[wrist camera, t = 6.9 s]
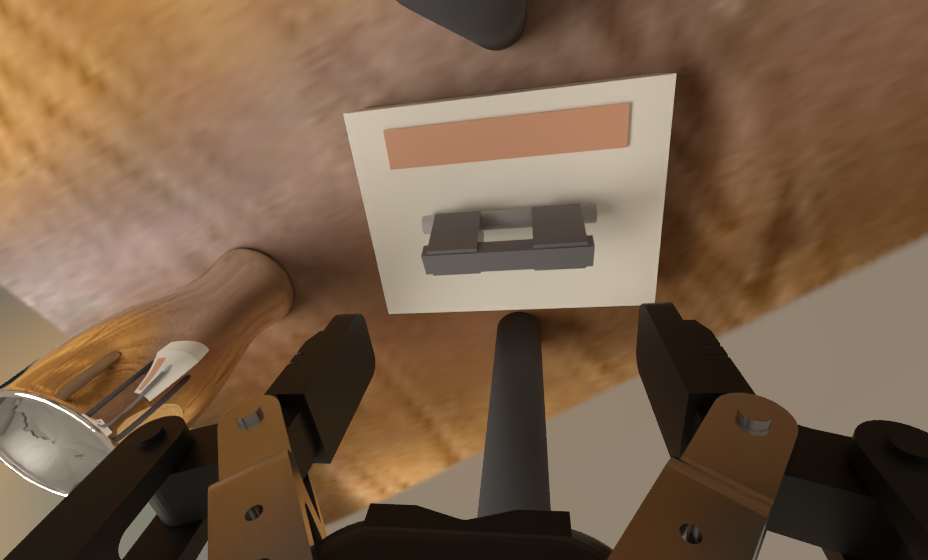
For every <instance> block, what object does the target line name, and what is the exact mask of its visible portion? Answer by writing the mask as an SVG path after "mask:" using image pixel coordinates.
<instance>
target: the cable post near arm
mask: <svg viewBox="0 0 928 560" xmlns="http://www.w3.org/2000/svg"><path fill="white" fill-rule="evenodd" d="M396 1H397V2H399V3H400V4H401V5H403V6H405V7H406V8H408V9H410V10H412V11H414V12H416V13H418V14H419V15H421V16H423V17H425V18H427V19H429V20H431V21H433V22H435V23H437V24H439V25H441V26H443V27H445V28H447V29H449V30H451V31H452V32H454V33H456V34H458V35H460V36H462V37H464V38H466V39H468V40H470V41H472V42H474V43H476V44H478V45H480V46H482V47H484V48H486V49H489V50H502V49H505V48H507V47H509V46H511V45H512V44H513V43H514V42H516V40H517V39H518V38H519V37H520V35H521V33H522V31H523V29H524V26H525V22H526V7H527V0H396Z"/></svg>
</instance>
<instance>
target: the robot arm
mask: <svg viewBox="0 0 928 560" xmlns="http://www.w3.org/2000/svg"><path fill="white" fill-rule="evenodd" d="M636 357H637V366H638V371H639V374H640V377H641V379H642V382H643V384H644V387H645V390H646V393H647V395H648V398H649V400H650V403H651V406H652V409H653V412H654V414H655V417H656V420H657V422H658V425H659V428H660V430H661V433H662V435H663V438H664V441H665V444H666V446H667V449H668V452H669V455H670V457H671V459H670V460H669V461H668V462H667V464H666V465H665V467H664V468H663V470H662V472H661V474H660V475H659V477H658V478H657V480H656V482H655V483H654V485H653V486H652V488H651V489H650V491H649V493H648V495H647V496H646V498H645V499H644V501H643V502H642V504H641V506H640V507H639V509H638V510H637V512H636V514H635V515H634V517H633V519H632V520H631V522H630V523H629V525H628V527H627V528H626V530H625V532H624V533H623V535H622V537H621V538H620V540H619V541H618V543H617V545H616V546H615V548H614V549H611V548H610V547H609V546H607V545H605V544H604V543H601V542H600V541H598V540H596V539H595V538H593V537H591V536H588V535H586V534H584V533H582V532H578V531H575V530H572V529H571V522H570V513H569V512H564V511H541V510H513V511H508V512H503V513H498V514H494V515H489V516H484V517H479V518H475V519H469V520H461V519H458V518H454V517H451V516H448V515H445V514H442V513H439V512H435V511H432V510H429V509H426V508H423V507H420V506H417V505H395V504H372V503H371V504H370V506H369V509H368V512H367V515H366V518H365V520H364V521H361V522H357V523H355V524H351V525H348V526H346V527H344V528H342V529H340V530H338V531H336V532H334V533H332V534H330V535H329V536H327V533H326V530H325V526H324V523H323V519H322V516H321V512H320V509H319V505H318V501H317V498H316V494H315V491H314V487H313V484H312V480H311V477H310V475H309V473H308V471H309V470H310V468H311V466H312V464H313V463H328V464H330V463H331V461H332V459H333V457H334V455H335V453H336V451H337V449H338V447H339V445H340V443H341V441H342V439H343V436H344V434H345V432H346V430H347V428H348V426H349V424H350V422H351V420H352V418H353V416H354V414H355V412H356V410H357V408H358V406H359V404H360V401H361V399H362V397H363V395H364V393H365V391H366V389H367V387H368V385H369V383H370V381H371V379H372V377H373V374H374V370H375V355H374V351H373V348H372V344H371V340H370V336H369V333H368V329H367V325H366V321H365V319H364V317H363V315H361V314H343V315H336V316H334V318H333V319H332V320H331V322H330V323H329V324H328V326H327V327H326V328H325V330H324V331H320V332H318V333H317V334H316V335H314V336H313V337H311V338H310V339H309V340H307V341H306V342H305V343H304V345H303V346H302V347H301V348H300V350H299V351H298V352H297V355H295V356H294V357H293V358H292V360H291V361H290V364H289V365H287V366H286V367H285V369H284V370H283V371H282V372H281V374H280V375H279V376H278V378H277V379H276V380H275V381H274V383H273V384H272V385H271V386H270V388H269V389H268V390H267V391H266V393H265V394H264V395H259V396H254V397H251V398H248V399H246V400H243V401H241V402H239V403H238V404H236V405H235V406H233V407H232V408H230V409H229V410H228V411H227V412H226V413H225V414H224V415H223V416H222V417H221V419H220V421H219V423H218V424H214V425H210V426H206V427H201V428H197V429H193V430H189V428H188V426H187V424H186V423H185V421H184V419H183V418H182V417H180V416H165V417H161V418H158V419H155V420H152V421H150V422H148V423H146V424H144V425H142V426H140V427H139V428H137V429H136V430H134V431H133V432H131V433H130V434H129V435H128V436H127V437H126V438H124V439H123V440H122V441H121V442H120V443H119V444H118V445H117V446H116V447H115V448H114V449H113V450H112V451H111V452H110V453H109V454H108V455H107V456H106V457H105V458H104V459H103V460H102V461H101V462H100V463H99V464H98V465H97V466H96V467H95V468H94V469H93V470H92V471H91V472H90V473H89V474H88V475H87V476H86V477H85V478H84V479H83V480H82V481H81V482H80V483H79V484H78V485H77V486H76V487H75V488H74V489H73V490H72V491H71V492H70V493H69V494H68V495H67V496H66V497H65V498H64V499H63V500H62V501H61V502H60V503H59V505H57V506H56V507H55V508H54V509H53V510H52V511H51V512H50V513H49V514H48V515H47V516H46V517H45V518H44V519H43V520H42V521H41V522H40V523H39V524H38V525H37V526H36V527H35V528H34V529H33V530H32V531H31V532H30V533H29V534H28V535H27V536H26V537H25V538H24V539H23V540H22V541H21V542H20V543H19V544H18V545H17V546H16V547H15V548H14V549H13V550H12V551H11V552H10V553H9V554H8V555H7V556H6V557H5V558H4V559H3V560H121V559H120V557H119V553H118V547H119V543H120V540H121V537H122V535H123V533H124V532H125V530H126V529H127V528H128V527H129V525H130V524H131V523H132V522H133V520H134V519H135V518H136V517H137V515H138V514H139V513H140V512H141V510H142V509H143V508H144V507H145V505H146V504H147V503H148V502H149V504H150V505H151V506H152V508H153V509H154V511H155V512H156V514H157V515H156V516H155V517H154V519H153V520H152V521H151V523H150V524H149V525H148V527H147V528H146V529H145V531H144V532H143V533H142V534H141V536H140V537H139V538H138V540H137V541H136V542H135V544H134V545H133V546H132V548H131V549H130V550H129V552H128V553H127V554H126V556H125V557H124V558H123V559H122V560H196V559H197V557H198V555H199V554H200V552H201V550H202V549H203V547H204V545H205V544H206V542H207V540H208V560H757V558H758V555H759V552H760V550H761V547H762V544H763V541H764V538H765V535H766V532H767V530H768V531H771V532H774V533H778V534H781V535H784V536H787V537H790V538H793V539H797V540H800V541H803V542H806V543H810V544H812V545H816V546H819V547H821V548H822V550H823V551H824V553H825V555H826V557H827V559H828V560H928V433H927V432H925V431H922V430H920V429H918V428H915V427H912V426H909V425H906V424H902V423H898V422H892V421H885V420H872V421H866V422H863V423H861V424H860V425H858V426H857V428H856V429H855V431H854V434H853V436H852V437H848V436H843V435H838V434H834V433H829V432H824V431H820V430H815V429H810V428H807V427H803V426H800V425H797V423H796V421H795V419H794V418H793V416H792V415H791V414H790V413H789V412H788V411H787V410H785V409H784V408H783V407H781V406H780V405H778V404H777V403H775V402H773V401H771V400H769V399H766V398H764V397H761V396H758V395H756V394H755V393H754V392H753V390H752V389H751V387H750V386H749V384H748V383H747V382H746V380H745V379H744V377H743V376H742V375H741V373H740V372H739V370H738V369H737V367H736V366H735V364H734V363H733V362H732V360H731V359H730V358H729V357H728V355H727V353H726V352H725V350H724V349H723V347H722V346H720V343H719V342H718V340H717V339H716V337H715V336H714V334H713V333H712V332H711V330H709V329H708V328H706V327H705V326H703V325H702V324H700V323H699V322H697V321H695V320H683V319H682V318H681V316H680V314H679V313H678V311H677V309H676V308H675V306H674V305H673V303H671V302H665V303H642V304H641V306H640V310H639V322H638V335H637V348H636Z"/></svg>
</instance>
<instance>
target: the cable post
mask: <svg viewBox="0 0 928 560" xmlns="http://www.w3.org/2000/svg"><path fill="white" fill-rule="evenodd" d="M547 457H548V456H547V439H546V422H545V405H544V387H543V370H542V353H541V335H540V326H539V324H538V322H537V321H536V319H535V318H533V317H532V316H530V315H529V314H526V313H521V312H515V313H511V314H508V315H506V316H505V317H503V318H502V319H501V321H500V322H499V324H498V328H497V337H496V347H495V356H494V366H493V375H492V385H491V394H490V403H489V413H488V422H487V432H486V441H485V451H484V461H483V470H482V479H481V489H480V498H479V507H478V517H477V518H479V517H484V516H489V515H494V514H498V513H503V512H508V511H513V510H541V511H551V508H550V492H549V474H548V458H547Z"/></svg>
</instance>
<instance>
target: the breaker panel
mask: <svg viewBox="0 0 928 560" xmlns="http://www.w3.org/2000/svg"><path fill="white" fill-rule="evenodd" d="M675 84H676V73H652V74H644V75H635V76H627V77H619V78H611V79H603V80H594V81H586V82H578V83H570V84H562V85H553V86H545V87H537V88H529V89H521V90H512V91H504V92H496V93H488V94H480V95H471V96H463V97H455V98H447V99H438V100H430V101H422V102H414V103H406V104H397V105H389V106H381V107H373V108H365V109H360V110H356V111H352V112H348V113H344V114H343V115H344V119H345V124H346V128H347V133H348V137H349V142H350V146H351V150H352V155H353V159H354V164H355V168H356V172H357V177H358V181H359V186H360V190H361V194H362V199H363V203H364V208H365V212H366V216H367V221H368V225H369V230H370V234H371V238H372V243H373V247H374V252H375V256H376V260H377V265H378V269H379V274H380V278H381V283H382V287H383V291H384V296H385V300H386V305H387V309H388V313H389V314H403V313H432V312H461V311H490V310H519V309H548V308H577V307H606V306H635V305H641V304H642V303H655V294H656V284H657V273H658V263H659V252H660V242H661V231H662V221H663V210H664V200H665V189H666V178H667V168H668V157H669V147H670V136H671V126H672V115H673V105H674V94H675ZM578 203H580V204H590V203H596V206H597V222H596V223H587V224H585V230H586V235H593V240H594V245H595V251H594V263H593V266H587V267H586V268H580V269H559V270H539V271H534V269H527V270H507V271H487V272H481V273H479V274H459V275H439V276H433V274H428V275H426V271H425V268H424V265H423V261H422V258H421V255H422V251H423V246H427V245H428V243H429V239H430V235H431V234H424V233H423V229H422V217H423V216H429V215H435V214H445V213H458V212H472V211H481V212H483V211H496V210H509V209H523V208H531V207H538V206H552V205H565V204H578ZM483 231H484V242H491V241H507V240H523V239H533V229H532V227H527V228H512V229H498V230H483Z"/></svg>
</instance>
